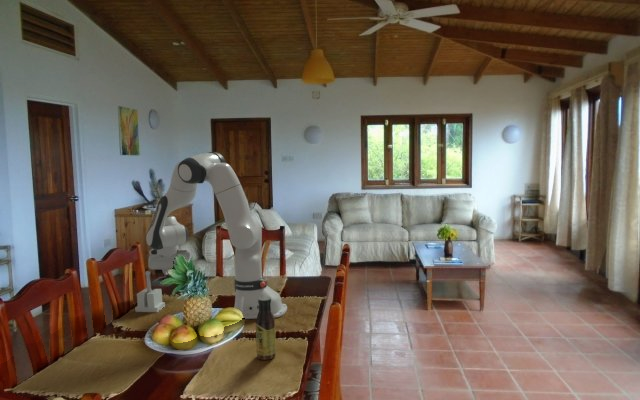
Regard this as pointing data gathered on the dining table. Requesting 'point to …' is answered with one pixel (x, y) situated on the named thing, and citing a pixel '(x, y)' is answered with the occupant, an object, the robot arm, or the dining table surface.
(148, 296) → the grey post holder
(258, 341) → the sauce bottle
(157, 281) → the dark grey flat block
